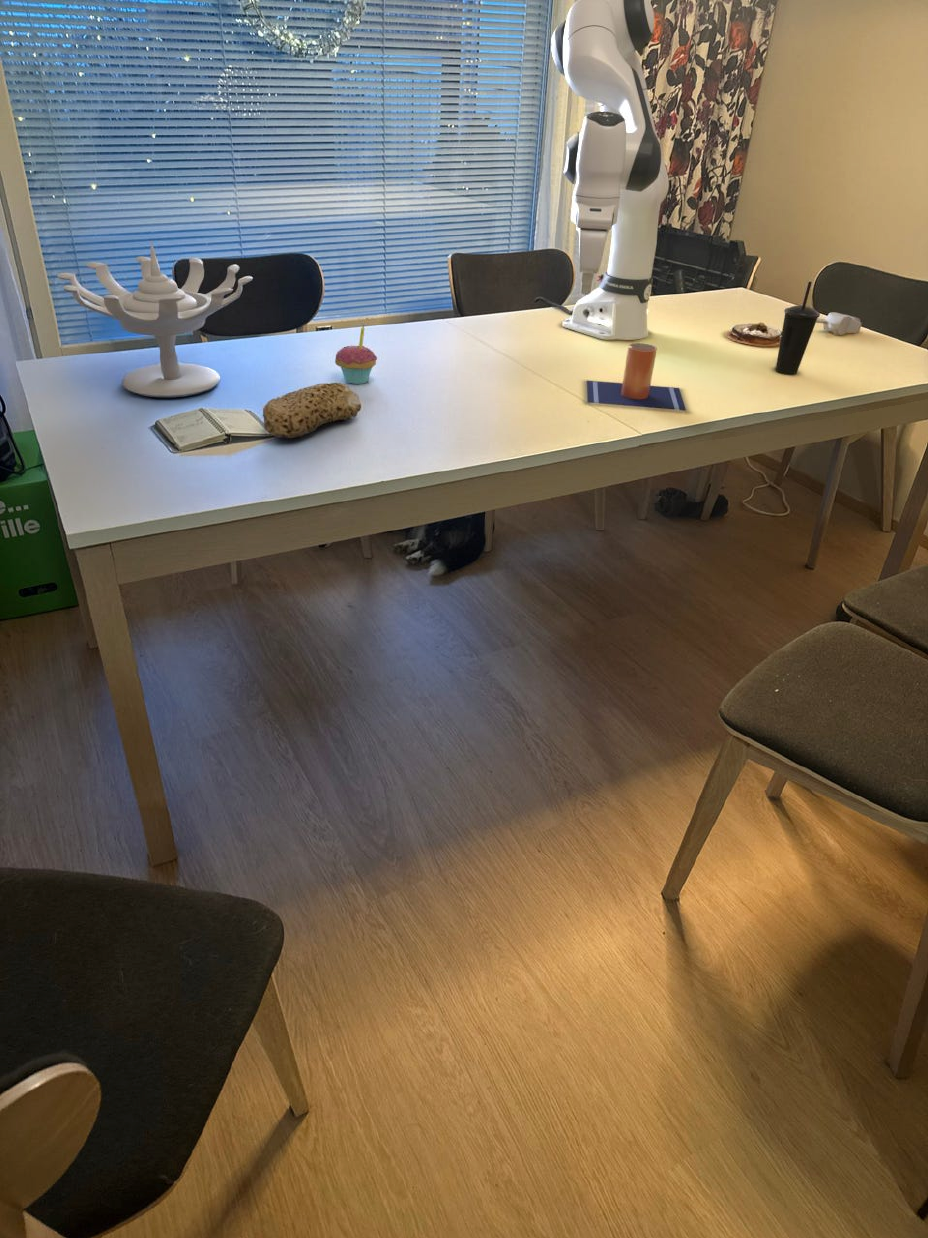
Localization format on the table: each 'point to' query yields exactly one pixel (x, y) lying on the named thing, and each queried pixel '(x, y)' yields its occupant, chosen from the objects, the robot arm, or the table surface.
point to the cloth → (656, 399)
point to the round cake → (755, 334)
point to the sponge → (309, 409)
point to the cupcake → (356, 362)
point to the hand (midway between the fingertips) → (585, 288)
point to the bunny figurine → (840, 323)
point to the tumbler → (638, 371)
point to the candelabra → (161, 320)
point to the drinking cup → (795, 336)
